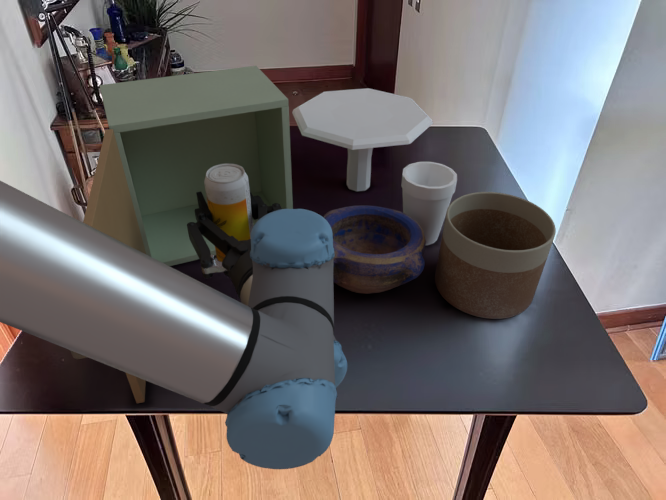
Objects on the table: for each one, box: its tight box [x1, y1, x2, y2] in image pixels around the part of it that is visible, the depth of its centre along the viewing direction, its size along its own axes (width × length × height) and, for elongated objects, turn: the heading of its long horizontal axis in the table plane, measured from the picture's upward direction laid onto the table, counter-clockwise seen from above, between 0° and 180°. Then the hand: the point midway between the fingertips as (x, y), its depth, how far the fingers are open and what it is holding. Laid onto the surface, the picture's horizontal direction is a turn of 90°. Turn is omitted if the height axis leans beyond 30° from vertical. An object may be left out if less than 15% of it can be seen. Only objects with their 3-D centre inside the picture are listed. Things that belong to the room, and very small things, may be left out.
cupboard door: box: [69, 128, 147, 404], centre depth 68 cm, size 7×26×26 cm, turn 14°
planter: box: [434, 191, 557, 320], centre depth 81 cm, size 16×16×14 cm
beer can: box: [204, 164, 253, 262], centre depth 76 cm, size 6×6×15 cm
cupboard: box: [99, 65, 294, 267], centre depth 90 cm, size 17×26×26 cm, turn 114°
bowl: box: [322, 204, 427, 295], centre depth 84 cm, size 18×18×10 cm
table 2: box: [291, 87, 434, 192], centre depth 106 cm, size 28×28×17 cm
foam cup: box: [400, 161, 458, 246], centre depth 93 cm, size 10×9×13 cm
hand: (222, 195), depth 79 cm, fingers closed on beer can, 6 cm apart
